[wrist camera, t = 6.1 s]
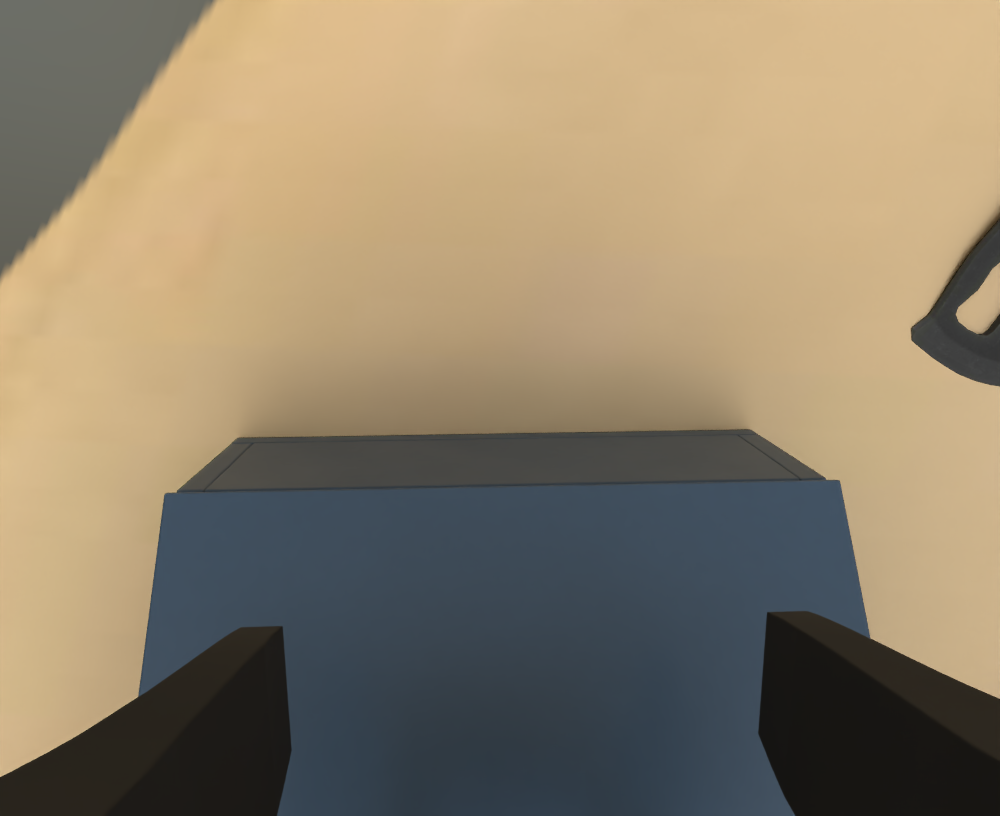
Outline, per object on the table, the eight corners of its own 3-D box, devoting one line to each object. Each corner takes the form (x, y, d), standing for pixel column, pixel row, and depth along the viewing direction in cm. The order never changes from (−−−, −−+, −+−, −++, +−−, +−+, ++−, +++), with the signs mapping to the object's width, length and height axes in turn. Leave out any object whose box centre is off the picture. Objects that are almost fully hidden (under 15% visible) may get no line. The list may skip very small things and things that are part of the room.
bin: (724, 835, 24) (784, 969, 20) (269, 853, 24) (224, 996, 19) (751, 429, 22) (827, 478, 17) (236, 437, 21) (174, 490, 16)
